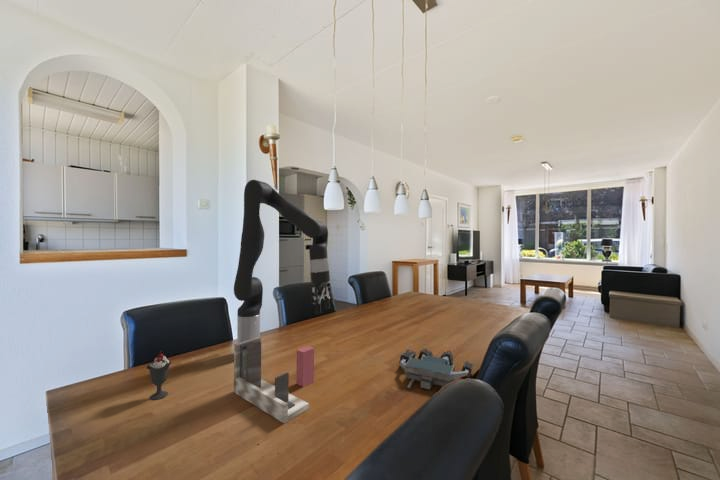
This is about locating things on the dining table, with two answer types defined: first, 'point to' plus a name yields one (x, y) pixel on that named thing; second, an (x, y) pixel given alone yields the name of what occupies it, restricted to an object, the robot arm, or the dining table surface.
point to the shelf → (263, 384)
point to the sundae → (159, 375)
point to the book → (305, 366)
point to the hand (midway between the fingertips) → (322, 311)
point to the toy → (431, 368)
